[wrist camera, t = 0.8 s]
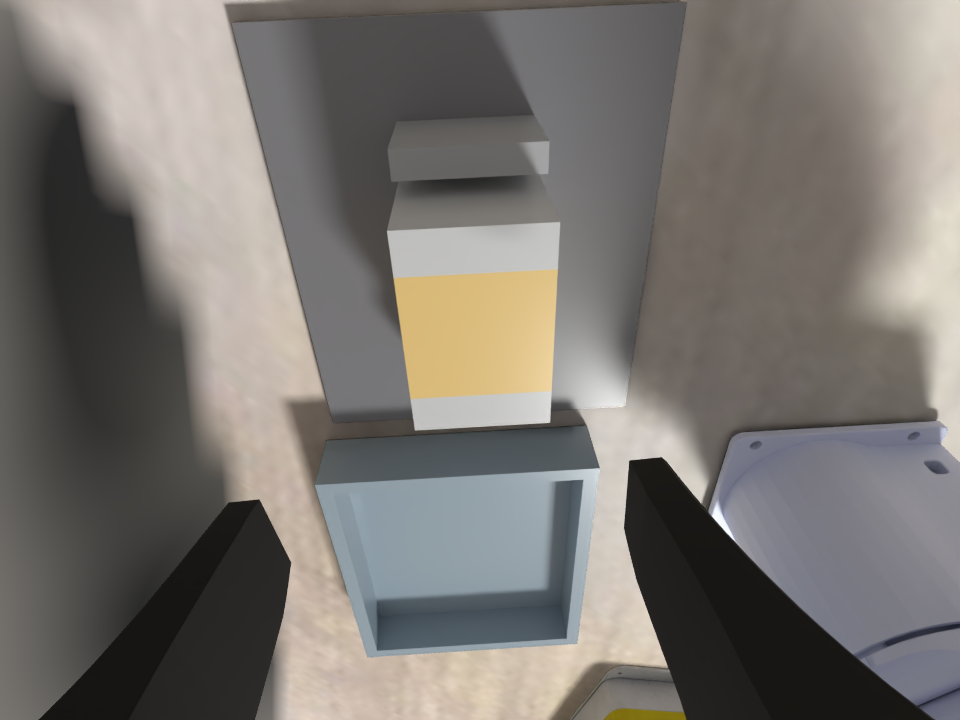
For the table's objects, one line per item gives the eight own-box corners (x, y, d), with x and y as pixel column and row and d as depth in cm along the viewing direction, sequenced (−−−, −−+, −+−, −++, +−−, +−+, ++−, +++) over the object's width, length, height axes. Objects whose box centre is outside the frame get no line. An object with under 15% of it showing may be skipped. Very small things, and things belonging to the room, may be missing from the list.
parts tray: (586, 425, 24) (599, 468, 22) (568, 600, 32) (577, 643, 30) (326, 440, 24) (314, 485, 22) (372, 612, 31) (367, 657, 29)
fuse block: (681, 2, 15) (734, 9, 12) (622, 400, 23) (646, 459, 20) (236, 21, 15) (187, 34, 12) (334, 416, 23) (318, 478, 20)
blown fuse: (533, 160, 17) (560, 221, 13) (530, 332, 20) (549, 422, 16) (401, 167, 17) (386, 231, 13) (421, 338, 20) (415, 430, 16)
